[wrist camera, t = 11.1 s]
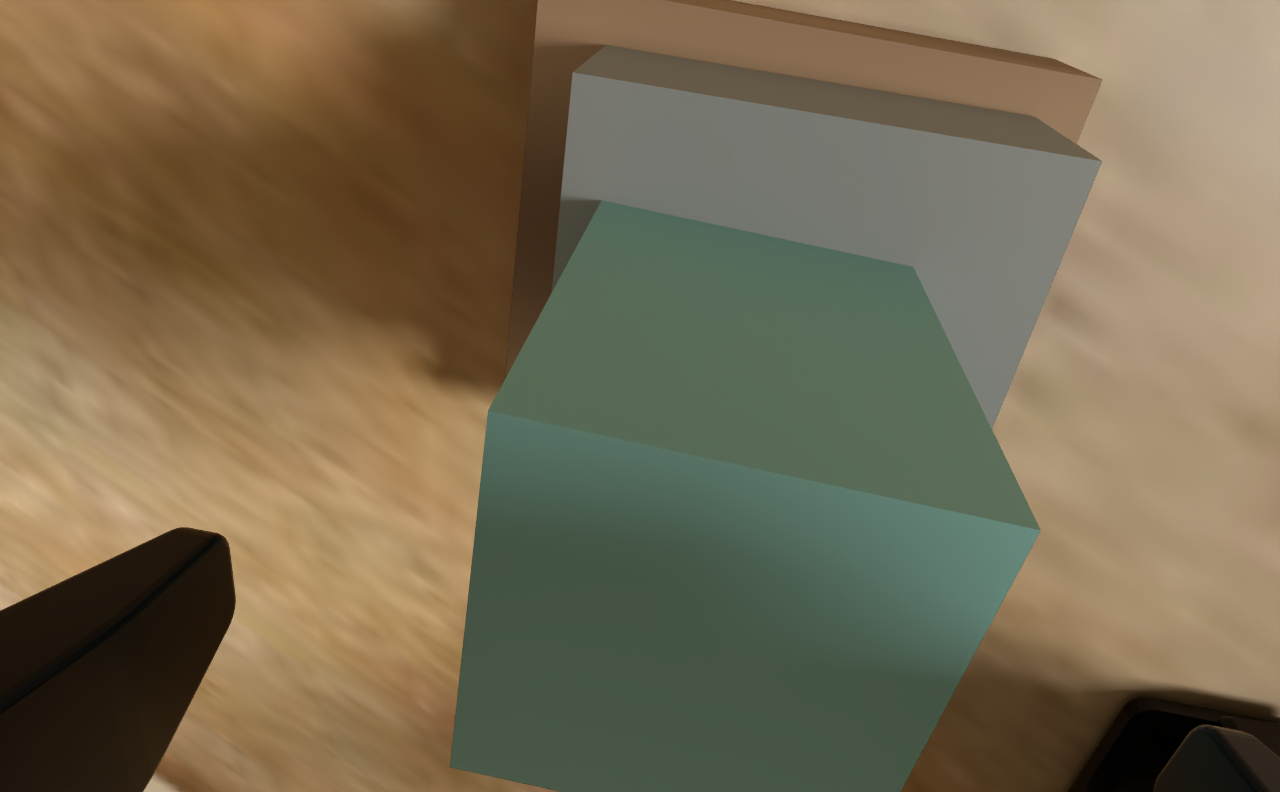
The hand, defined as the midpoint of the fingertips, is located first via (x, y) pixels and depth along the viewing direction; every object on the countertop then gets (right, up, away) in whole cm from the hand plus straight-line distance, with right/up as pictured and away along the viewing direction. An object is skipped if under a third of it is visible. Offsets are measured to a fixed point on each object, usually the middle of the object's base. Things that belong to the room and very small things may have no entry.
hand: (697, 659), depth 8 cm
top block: (+2, +5, +8) cm, 9 cm away
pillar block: (+1, +3, +5) cm, 6 cm away
